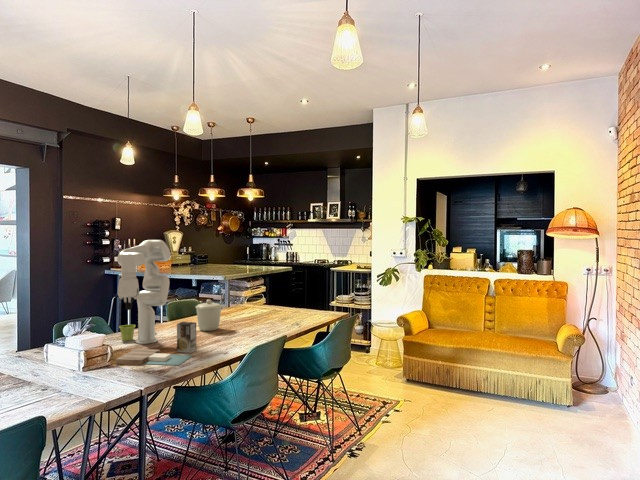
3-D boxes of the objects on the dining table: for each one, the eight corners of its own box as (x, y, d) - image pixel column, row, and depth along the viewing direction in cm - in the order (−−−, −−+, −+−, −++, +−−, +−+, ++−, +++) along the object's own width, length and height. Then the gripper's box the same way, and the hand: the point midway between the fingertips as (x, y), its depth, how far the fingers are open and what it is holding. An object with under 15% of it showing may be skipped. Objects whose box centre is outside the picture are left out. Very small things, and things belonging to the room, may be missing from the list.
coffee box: (196, 350, 250) (197, 322, 250) (190, 353, 244) (190, 324, 244) (182, 349, 253) (183, 321, 253) (176, 352, 247) (176, 323, 246)
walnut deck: (135, 353, 243) (135, 348, 243) (159, 354, 242) (159, 349, 242) (115, 363, 223) (115, 359, 223) (141, 364, 222) (141, 359, 222)
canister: (225, 327, 313) (225, 298, 313) (217, 332, 295) (217, 301, 295) (201, 326, 315) (201, 297, 314) (191, 332, 297) (191, 301, 296)
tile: (154, 356, 235) (154, 353, 235) (170, 357, 234) (170, 353, 234) (148, 360, 228) (148, 356, 228) (164, 361, 227) (164, 357, 227)
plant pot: (129, 342, 268) (129, 328, 268) (115, 341, 270) (115, 327, 270) (138, 338, 277) (138, 324, 277) (125, 337, 279) (125, 324, 279)
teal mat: (160, 354, 240) (160, 354, 240) (192, 355, 239) (192, 355, 239) (144, 364, 223) (144, 363, 223) (178, 365, 221) (178, 364, 221)
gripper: (111, 276, 236) (111, 310, 236) (138, 276, 234) (138, 311, 234) (119, 275, 243) (119, 308, 243) (145, 275, 242) (145, 308, 242)
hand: (128, 309), depth 239 cm, fingers closed
